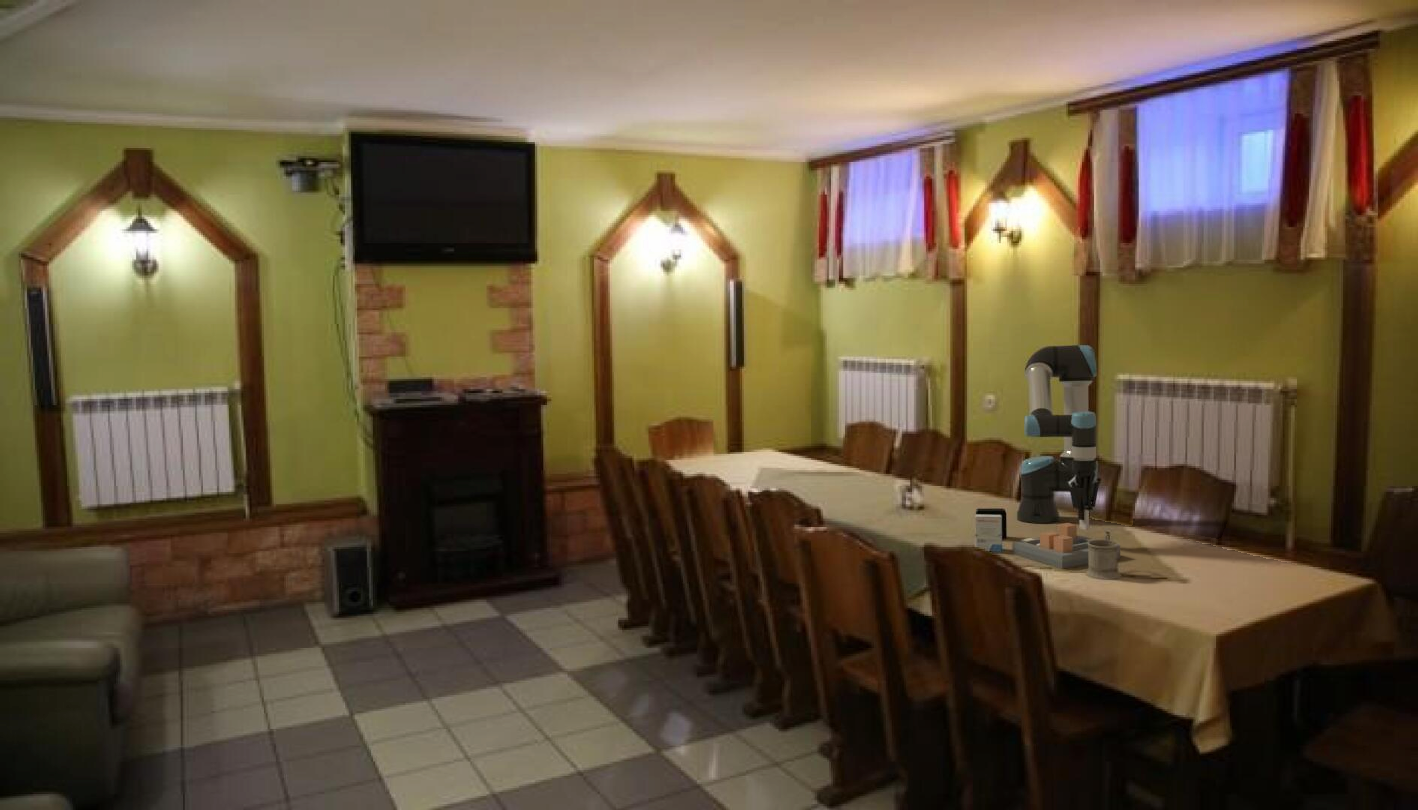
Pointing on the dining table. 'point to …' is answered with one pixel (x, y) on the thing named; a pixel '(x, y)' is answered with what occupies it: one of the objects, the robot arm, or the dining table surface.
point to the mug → (1103, 559)
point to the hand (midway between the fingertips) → (1084, 528)
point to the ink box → (988, 532)
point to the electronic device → (995, 512)
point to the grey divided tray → (1055, 552)
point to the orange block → (1063, 544)
